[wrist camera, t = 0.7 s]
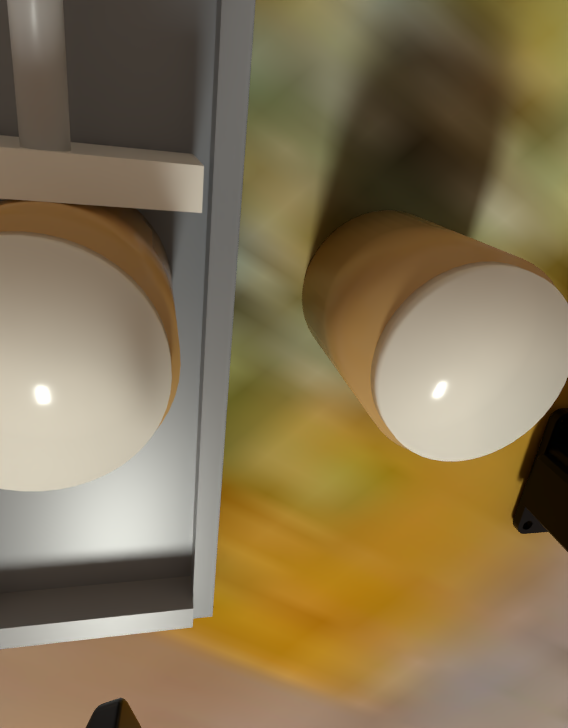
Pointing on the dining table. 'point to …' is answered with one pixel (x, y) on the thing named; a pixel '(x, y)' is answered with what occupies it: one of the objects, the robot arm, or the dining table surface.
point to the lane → (194, 323)
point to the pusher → (52, 135)
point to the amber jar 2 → (437, 333)
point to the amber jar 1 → (81, 341)
